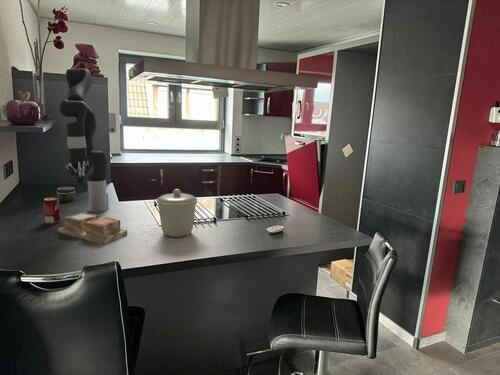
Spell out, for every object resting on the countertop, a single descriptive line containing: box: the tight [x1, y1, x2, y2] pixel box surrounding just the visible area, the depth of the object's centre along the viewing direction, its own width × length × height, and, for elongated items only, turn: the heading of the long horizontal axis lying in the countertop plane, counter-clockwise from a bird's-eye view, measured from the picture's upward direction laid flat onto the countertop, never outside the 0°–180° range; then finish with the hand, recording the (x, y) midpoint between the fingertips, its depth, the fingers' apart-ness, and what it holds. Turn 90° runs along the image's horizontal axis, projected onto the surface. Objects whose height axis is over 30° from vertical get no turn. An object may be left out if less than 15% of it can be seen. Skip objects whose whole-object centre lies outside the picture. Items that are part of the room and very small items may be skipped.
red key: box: [91, 217, 115, 225], centre depth 154 cm, size 7×7×3 cm
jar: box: [56, 186, 76, 203], centre depth 215 cm, size 10×10×8 cm
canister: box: [155, 188, 198, 238], centre depth 160 cm, size 18×18×21 cm
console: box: [57, 211, 128, 245], centre depth 158 cm, size 14×28×7 cm, turn 63°
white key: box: [70, 213, 92, 220], centre depth 160 cm, size 7×7×3 cm
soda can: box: [42, 197, 61, 225], centre depth 171 cm, size 7×7×12 cm
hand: (80, 184), depth 161 cm, fingers closed
